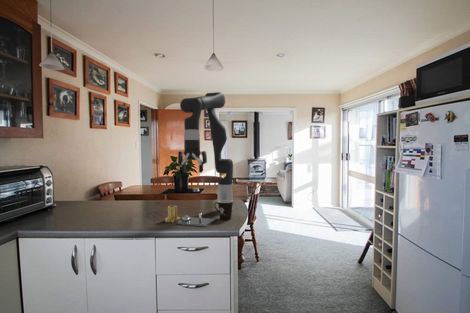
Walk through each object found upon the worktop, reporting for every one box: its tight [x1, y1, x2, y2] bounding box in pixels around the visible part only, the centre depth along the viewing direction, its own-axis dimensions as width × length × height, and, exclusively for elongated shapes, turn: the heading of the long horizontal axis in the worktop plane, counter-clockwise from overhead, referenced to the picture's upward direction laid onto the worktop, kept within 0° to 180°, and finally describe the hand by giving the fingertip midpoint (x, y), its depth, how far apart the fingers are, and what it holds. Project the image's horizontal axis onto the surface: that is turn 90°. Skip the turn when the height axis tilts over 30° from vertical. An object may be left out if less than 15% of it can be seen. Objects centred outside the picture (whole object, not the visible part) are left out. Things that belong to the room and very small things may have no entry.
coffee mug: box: [213, 200, 234, 221], centre depth 160 cm, size 12×9×10 cm
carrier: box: [176, 212, 216, 227], centre depth 151 cm, size 12×17×5 cm
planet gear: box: [164, 204, 181, 223], centre depth 156 cm, size 8×8×8 cm
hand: (192, 172), depth 136 cm, fingers open, 8 cm apart
